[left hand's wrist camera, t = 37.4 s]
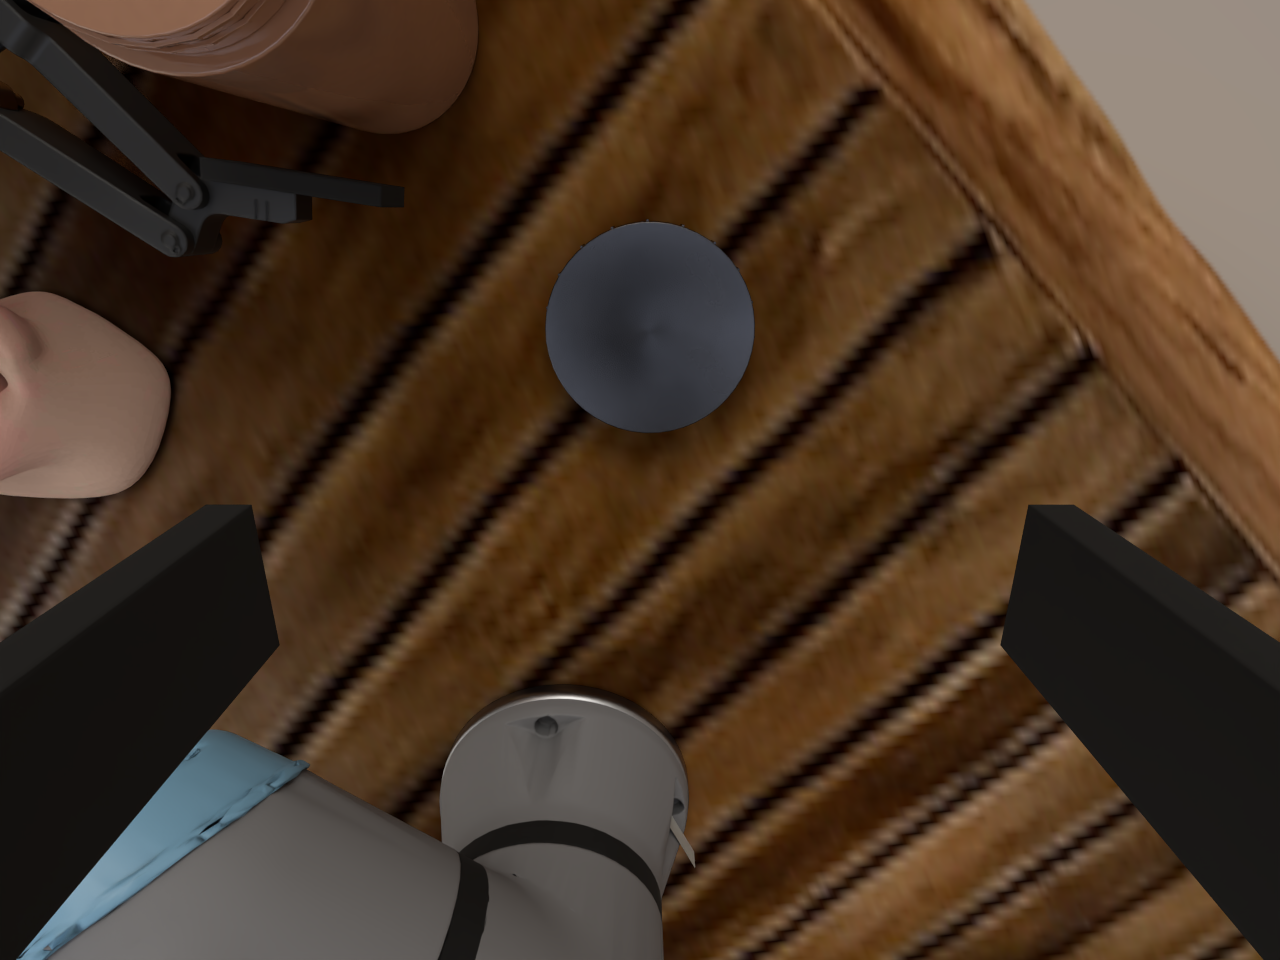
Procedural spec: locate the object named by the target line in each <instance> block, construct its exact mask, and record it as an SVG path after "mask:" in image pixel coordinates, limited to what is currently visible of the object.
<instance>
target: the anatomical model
mask: <svg viewBox="0 0 1280 960" xmlns="http://www.w3.org/2000/svg"><path fill="white" fill-rule="evenodd" d="M170 400H171V386H170V379H169V376H168V373H167V371H166V369H165V367H164V366H163V364H162V363H161V361H160V360H159V359H158V358H157V357H156V356H155V355H154V354H153V353H152V352H151V351H150V350H148V349H147V348H146V347H145V346H143V345H142V344H141V343H140V342H138V341H137V340H136V339H134V338H133V337H131V336H130V335H128V334H127V333H125V332H124V331H122V330H121V329H119V328H118V327H116V326H115V325H113V324H112V323H110V322H109V321H107V320H106V319H104V318H103V317H101V316H99V315H98V314H96V313H94V312H92V311H90V310H88V309H86V308H84V307H82V306H80V305H78V304H76V303H74V302H72V301H70V300H68V299H66V298H63V297H61V296H58V295H55V294H52V293H47V292H40V291H36V292H26V293H21V294H17V295H13V296H9V297H6V298H3V299H0V494H3V495H11V496H24V497H40V498H89V497H101V496H106V495H111V494H115V493H118V492H121V491H123V490H125V489H127V488H129V487H131V486H132V485H133V484H134V483H136V482H137V481H138V480H139V479H140V478H141V477H142V476H143V474H144V473H145V472H146V470H147V469H148V467H149V466H150V464H151V462H152V461H153V459H154V457H155V454H156V452H157V450H158V448H159V445H160V442H161V439H162V436H163V433H164V430H165V426H166V422H167V418H168V414H169V407H170Z"/></svg>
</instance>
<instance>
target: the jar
mask: <svg viewBox="0 0 1280 960" xmlns="http://www.w3.org/2000/svg"><path fill="white" fill-rule="evenodd" d="M27 1H29V2H30V3H32V4H33V5H35V6H36V7H38V8H39V9H41V10H42V11H44V12H45V13H47V14H48V15H50V16H51V17H53V18H54V19H56V20H57V21H59V22H60V23H62V24H63V25H64V26H65V27H66V28H68V29H69V30H70V31H72V32H73V33H74V34H76V35H77V36H78V37H80V38H81V39H82V40H84V41H85V42H87V43H88V44H90V45H92V46H93V47H95V48H97V49H98V50H100V51H102V52H103V53H105V54H107V55H108V56H111V57H113V58H115V59H117V60H120V61H122V62H124V63H126V64H129V65H131V66H134V67H137V68H140V69H144V70H147V71H150V72H154V73H157V74H161V75H164V76H168V77H171V78H175V79H179V80H182V81H186V82H190V83H193V84H197V85H200V86H204V87H208V88H211V89H215V90H219V91H222V92H226V93H229V94H233V95H237V96H240V97H244V98H247V99H251V100H255V101H258V102H262V103H266V104H269V105H273V106H276V107H280V108H284V109H287V110H291V111H294V112H298V113H302V114H305V115H309V116H313V117H316V118H320V119H323V120H327V121H331V122H334V123H338V124H342V125H345V126H349V127H352V128H356V129H360V130H363V131H367V132H373V133H379V134H396V133H404V132H408V131H412V130H415V129H418V128H421V127H423V126H425V125H427V124H429V123H431V122H432V121H434V120H435V119H437V118H438V117H440V116H441V115H442V114H443V113H444V112H445V111H446V110H448V109H449V108H450V106H451V105H452V104H453V103H454V102H455V101H456V99H457V98H458V97H459V95H460V93H461V92H462V90H463V89H464V87H465V85H466V83H467V81H468V78H469V76H470V74H471V71H472V68H473V64H474V61H475V56H476V51H477V44H478V16H477V9H476V3H475V0H27Z"/></svg>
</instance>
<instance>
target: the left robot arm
mask: <svg viewBox="0 0 1280 960" xmlns="http://www.w3.org/2000/svg"><path fill="white" fill-rule="evenodd" d="M278 646H279V640H278V635H277V630H276V625H275V620H274V615H273V610H272V605H271V600H270V595H269V590H268V585H267V580H266V575H265V570H264V565H263V560H262V555H261V550H260V545H259V540H258V535H257V530H256V525H255V520H254V515H253V510H252V505H205V506H204V507H202V508H201V509H199V510H198V511H196V512H195V513H193V514H192V515H190V516H189V517H187V518H186V519H184V520H183V521H181V522H180V523H178V524H177V525H175V526H174V527H172V528H171V529H169V530H168V531H166V532H165V533H163V534H162V535H160V536H159V537H157V538H156V539H154V540H153V541H151V542H150V543H148V544H147V545H145V546H144V547H142V548H141V549H139V550H138V551H136V552H135V553H133V554H132V555H130V556H129V557H127V558H126V559H124V560H123V561H121V562H120V563H118V564H117V565H115V566H114V567H112V568H111V569H109V570H108V571H106V572H105V573H103V574H102V575H101V576H99V577H98V578H96V579H95V580H93V581H92V582H90V583H89V584H87V585H86V586H84V587H83V588H81V589H80V590H78V591H77V592H75V593H74V594H72V595H71V596H69V597H68V598H66V599H65V600H63V601H62V602H60V603H59V604H57V605H56V606H54V607H53V608H51V609H50V610H48V611H47V612H45V613H44V614H42V615H41V616H39V617H38V618H36V619H35V620H33V621H32V622H30V623H29V624H27V625H26V626H24V627H23V628H21V629H20V630H18V631H17V632H15V633H14V634H12V635H11V636H9V637H8V638H6V639H5V640H3V641H2V642H0V960H664V959H663V933H662V905H661V899H662V895H663V892H664V889H665V886H666V883H667V880H668V877H669V874H670V871H671V868H672V866H673V863H674V860H675V857H676V854H677V851H678V848H679V845H680V844H681V846H682V848H683V849H684V851H685V852H686V854H687V856H688V857H689V859H690V861H691V862H692V864H693V865H694V867H695V860H694V851H693V849H692V847H691V846H690V844H689V843H688V841H687V839H686V838H685V836H684V834H683V833H684V830H685V826H686V820H687V812H688V802H689V795H688V780H687V771H686V766H685V762H684V759H683V756H682V754H681V751H680V749H679V747H678V745H677V743H676V742H675V740H674V738H673V737H672V736H671V734H670V733H669V732H668V730H667V729H666V728H665V727H664V726H663V725H662V724H661V722H659V721H658V720H657V719H656V718H655V717H654V716H653V715H652V714H650V713H649V712H648V711H646V710H645V709H644V708H642V707H640V706H639V705H637V704H635V703H634V702H632V701H630V700H628V699H626V698H624V697H622V696H619V695H616V694H614V693H611V692H608V691H605V690H601V689H597V688H592V687H588V686H580V685H566V684H557V685H544V686H537V687H532V688H527V689H523V690H520V691H517V692H514V693H511V694H509V695H506V696H504V697H502V698H500V699H498V700H496V701H494V702H492V703H491V704H489V705H488V706H486V707H485V708H483V709H482V710H481V711H479V712H478V713H477V714H476V715H474V716H473V717H472V719H471V720H470V721H469V722H468V723H467V724H466V725H465V726H464V728H463V729H462V730H461V731H460V733H459V735H458V736H457V738H456V740H455V742H454V744H453V746H452V748H451V751H450V754H449V757H448V760H447V762H446V765H445V769H444V772H443V777H442V783H441V790H440V815H441V830H442V842H440V841H438V840H436V839H435V838H433V837H431V836H429V835H427V834H425V833H423V832H421V831H419V830H418V829H416V828H414V827H412V826H410V825H408V824H406V823H404V822H403V821H401V820H399V819H397V818H395V817H393V816H391V815H389V814H388V813H386V812H384V811H382V810H380V809H378V808H376V807H374V806H373V805H371V804H369V803H367V802H365V801H363V800H361V799H359V798H358V797H356V796H354V795H352V794H350V793H348V792H346V791H344V790H343V789H341V788H339V787H337V786H335V785H333V784H332V783H330V782H328V781H326V780H324V779H323V778H321V777H319V776H317V775H315V774H314V773H312V772H310V771H308V770H306V769H307V768H308V767H309V766H310V764H309V763H307V762H305V761H303V760H297V761H292V760H290V759H288V758H285V757H283V756H281V755H279V754H277V753H275V752H273V751H270V750H268V749H266V748H264V747H262V746H260V745H258V744H256V743H253V742H251V741H249V740H247V739H245V738H243V737H241V736H239V735H236V734H234V733H231V732H228V731H222V730H209V729H210V728H211V726H212V725H213V724H214V723H215V722H216V720H217V719H218V718H219V717H220V716H221V715H222V713H223V712H224V711H225V710H226V709H227V707H228V706H229V705H230V704H231V703H232V701H233V700H234V699H235V698H236V697H237V695H238V694H239V693H240V692H241V691H242V689H243V688H244V687H245V686H246V685H247V683H248V682H249V681H250V680H251V679H252V677H253V676H254V675H255V674H256V673H257V671H258V670H259V669H260V668H261V667H262V665H263V664H264V663H265V662H266V661H267V660H268V658H269V657H270V656H271V655H272V654H273V652H274V651H275V650H276V649H277V648H278ZM1001 646H1002V648H1003V649H1004V650H1005V651H1006V652H1007V654H1008V655H1009V656H1010V657H1011V658H1012V660H1013V661H1014V662H1015V663H1016V664H1017V666H1018V667H1019V668H1020V669H1021V670H1022V671H1023V673H1024V674H1025V675H1026V676H1027V677H1028V679H1029V680H1030V681H1031V682H1032V683H1033V685H1034V686H1035V687H1036V688H1037V689H1038V691H1039V692H1040V693H1041V694H1042V695H1043V697H1044V698H1045V699H1046V700H1047V701H1048V703H1049V704H1050V705H1051V706H1052V707H1053V709H1054V710H1055V711H1056V712H1057V713H1058V715H1059V716H1060V717H1061V718H1062V719H1063V720H1064V722H1065V723H1066V724H1067V725H1068V726H1069V728H1070V729H1071V730H1072V731H1073V732H1074V734H1075V735H1076V736H1077V737H1078V738H1079V740H1080V741H1081V742H1082V743H1083V744H1084V746H1085V747H1086V748H1087V749H1088V750H1089V752H1090V753H1091V754H1092V755H1093V756H1094V758H1095V759H1096V760H1097V761H1098V762H1099V764H1100V765H1101V766H1102V767H1103V768H1104V769H1105V771H1106V772H1107V773H1108V774H1109V775H1110V777H1111V778H1112V779H1113V780H1114V781H1115V783H1116V784H1117V785H1118V786H1119V787H1120V789H1121V790H1122V791H1123V792H1124V793H1125V795H1126V796H1127V797H1128V798H1129V799H1130V801H1131V802H1132V803H1133V804H1134V805H1135V807H1136V808H1137V809H1138V810H1139V811H1140V813H1141V814H1142V815H1143V816H1144V817H1145V818H1146V820H1147V821H1148V822H1149V823H1150V824H1151V826H1152V827H1153V828H1154V829H1155V830H1156V832H1157V833H1158V834H1159V835H1160V836H1161V838H1162V839H1163V840H1164V841H1165V842H1166V844H1167V845H1168V846H1169V847H1170V848H1171V850H1172V851H1173V852H1174V853H1175V854H1176V856H1177V857H1178V858H1179V859H1180V860H1181V862H1182V863H1183V864H1184V865H1185V866H1186V867H1187V869H1188V870H1189V871H1190V872H1191V873H1192V875H1193V876H1194V877H1195V878H1196V879H1197V881H1198V882H1199V883H1200V884H1201V885H1202V887H1203V888H1204V889H1205V890H1206V891H1207V893H1208V894H1209V895H1210V896H1211V897H1212V899H1213V900H1214V901H1215V902H1216V903H1217V905H1218V906H1219V907H1220V908H1221V909H1222V911H1223V912H1224V913H1225V914H1226V915H1227V916H1228V918H1229V919H1230V920H1231V921H1232V922H1233V924H1234V925H1235V926H1236V927H1237V928H1238V930H1239V931H1240V932H1241V933H1242V934H1243V936H1244V937H1245V938H1246V939H1247V940H1248V942H1249V943H1250V944H1251V945H1252V946H1253V948H1254V949H1255V950H1256V951H1257V952H1258V954H1259V955H1260V956H1261V957H1262V958H1263V960H1280V642H1278V641H1277V640H1275V639H1274V638H1272V637H1271V636H1269V635H1268V634H1266V633H1265V632H1263V631H1262V630H1260V629H1259V628H1257V627H1256V626H1254V625H1253V624H1251V623H1250V622H1248V621H1247V620H1245V619H1244V618H1242V617H1241V616H1239V615H1238V614H1236V613H1235V612H1233V611H1232V610H1230V609H1229V608H1227V607H1226V606H1224V605H1223V604H1221V603H1220V602H1218V601H1217V600H1215V599H1214V598H1212V597H1211V596H1209V595H1208V594H1206V593H1205V592H1203V591H1202V590H1200V589H1199V588H1197V587H1196V586H1194V585H1193V584H1191V583H1190V582H1188V581H1187V580H1185V579H1184V578H1182V577H1181V576H1179V575H1178V574H1177V573H1175V572H1174V571H1172V570H1171V569H1169V568H1168V567H1166V566H1165V565H1163V564H1162V563H1160V562H1159V561H1157V560H1156V559H1154V558H1153V557H1151V556H1150V555H1148V554H1147V553H1145V552H1144V551H1142V550H1141V549H1139V548H1138V547H1136V546H1135V545H1133V544H1132V543H1130V542H1129V541H1127V540H1126V539H1124V538H1123V537H1121V536H1120V535H1118V534H1117V533H1115V532H1114V531H1112V530H1111V529H1109V528H1108V527H1106V526H1105V525H1103V524H1102V523H1100V522H1099V521H1097V520H1096V519H1094V518H1093V517H1091V516H1090V515H1088V514H1087V513H1085V512H1084V511H1082V510H1081V509H1079V508H1078V507H1076V506H1075V505H1028V510H1027V515H1026V520H1025V525H1024V530H1023V535H1022V540H1021V545H1020V550H1019V555H1018V560H1017V565H1016V570H1015V575H1014V580H1013V585H1012V590H1011V595H1010V600H1009V605H1008V610H1007V615H1006V620H1005V625H1004V630H1003V635H1002V640H1001Z"/></svg>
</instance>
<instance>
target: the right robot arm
mask: <svg viewBox="0 0 1280 960" xmlns="http://www.w3.org/2000/svg"><path fill="white" fill-rule="evenodd" d="M6 48H7V49H8V50H10V51H11V52H13V53H14V54H16V55H17V56H19V57H21V58H23V59H25V60H26V61H28V62H29V63H30V64H32V65H33V66H34V67H35V68H36V69H37V70H38V71H39V72H40V73H41V74H42V75H43V76H44V77H45V78H46V79H47V80H48V81H49V82H50V83H51V84H52V85H53V86H54V87H55V88H57V89H58V90H59V91H60V92H61V93H62V94H63V95H64V96H65V97H66V98H67V99H68V100H69V101H70V102H71V103H72V104H73V105H74V106H75V107H76V108H77V109H78V110H79V111H80V112H81V113H82V114H83V115H84V116H85V117H86V118H87V119H88V120H89V121H91V122H92V123H93V124H94V125H95V126H96V127H97V128H98V129H99V130H100V131H101V132H102V133H103V134H104V135H105V136H106V137H107V138H108V139H109V140H110V141H111V142H112V143H113V144H114V145H115V146H116V147H117V148H118V149H119V150H120V151H121V152H122V153H123V154H125V155H126V156H127V157H128V158H129V159H130V160H131V161H132V162H133V163H134V164H135V165H136V166H137V167H138V168H139V169H140V170H141V171H142V172H143V173H144V174H145V175H146V176H147V177H148V178H149V179H150V180H151V181H152V182H153V183H154V184H155V185H156V186H157V187H159V188H160V189H161V190H162V191H163V192H164V193H165V194H164V193H163V192H161V191H159V190H158V189H156V188H155V187H153V186H152V185H150V184H149V183H147V182H146V181H144V180H142V179H141V178H139V177H138V176H136V175H135V174H133V173H132V172H130V171H129V170H127V169H125V168H124V167H122V166H121V165H119V164H118V163H116V162H115V161H113V160H112V159H110V158H109V157H107V156H105V155H104V154H102V153H101V152H99V151H98V150H96V149H95V148H93V147H92V146H90V145H88V144H87V143H85V142H84V141H82V140H81V139H79V138H78V137H76V136H75V135H73V134H71V133H70V132H68V131H67V130H65V129H64V128H62V127H61V126H59V125H57V124H56V123H54V122H52V121H51V120H49V119H47V118H45V117H43V116H41V115H38V114H36V113H34V112H31V111H28V110H25V109H23V107H24V100H23V98H22V97H21V96H20V95H19V94H17V93H14V92H13V90H12V89H11V88H10V87H9V86H8V85H7V84H5V83H3V82H1V81H0V151H2V152H3V153H5V154H7V155H8V156H10V157H11V158H13V159H15V160H16V161H18V162H19V163H21V164H23V165H24V166H26V167H27V168H29V169H30V170H32V171H34V172H35V173H37V174H38V175H40V176H42V177H43V178H45V179H46V180H48V181H49V182H51V183H53V184H54V185H56V186H57V187H59V188H61V189H62V190H64V191H65V192H67V193H68V194H70V195H72V196H73V197H75V198H76V199H78V200H80V201H81V202H83V203H84V204H86V205H88V206H89V207H91V208H92V209H94V210H95V211H97V212H99V213H100V214H102V215H103V216H105V217H107V218H108V219H110V220H111V221H113V222H114V223H116V224H118V225H119V226H121V227H122V228H124V229H126V230H127V231H129V232H130V233H132V234H133V235H135V236H137V237H138V238H140V239H141V240H143V241H145V242H146V243H148V244H149V245H151V246H152V247H154V248H156V249H157V250H159V251H160V252H162V253H164V254H165V255H168V256H170V257H183V256H192V255H202V254H212V253H215V252H217V251H218V250H219V249H220V248H221V245H222V237H221V234H220V232H219V231H220V228H221V225H222V223H223V221H224V219H225V218H226V217H228V216H229V215H231V216H238V217H244V218H251V219H258V220H264V221H270V222H277V223H301V222H304V221H308V220H312V197H319V198H325V199H332V200H338V201H344V202H351V203H357V204H364V205H370V206H377V207H404V187H399V186H393V185H386V184H380V183H374V182H367V181H361V180H354V179H348V178H342V177H335V176H329V175H323V174H316V173H310V172H304V171H297V170H291V169H284V168H278V167H272V166H265V165H259V164H253V163H246V162H240V161H232V160H223V159H214V158H206V157H204V156H203V155H202V154H201V153H200V152H199V151H198V150H197V149H196V148H195V147H194V146H193V145H192V144H191V143H190V142H189V141H188V140H187V139H186V138H185V137H184V136H183V135H182V134H181V133H180V132H179V131H178V130H177V129H176V128H175V127H174V126H173V125H172V124H171V123H170V122H169V121H168V120H167V119H166V118H165V117H164V116H163V115H162V114H161V113H160V112H159V111H158V110H157V109H156V108H155V107H154V106H153V105H152V104H151V103H150V102H149V101H148V100H147V99H146V98H145V97H144V96H143V95H142V94H141V93H140V92H139V91H138V90H137V89H136V88H135V87H134V86H133V85H132V84H131V83H130V82H129V81H128V80H127V79H126V78H125V77H124V76H123V75H122V74H121V73H120V72H119V71H118V70H117V69H116V68H115V67H114V66H113V65H112V64H111V63H110V62H109V61H108V60H107V59H106V58H105V57H104V56H103V55H102V53H101V52H100V51H99V50H98V49H97V48H95V47H93V46H92V45H90V44H88V43H87V42H85V41H84V40H82V39H81V38H80V37H78V36H77V35H76V34H74V33H73V32H72V31H70V30H69V29H68V28H66V27H65V26H64V25H63V24H62V23H60V22H59V21H57V20H56V19H54V18H53V17H51V16H50V15H48V14H47V13H45V12H44V11H42V10H41V9H39V8H38V7H36V6H35V5H33V4H32V3H30V2H29V1H27V0H0V53H1V52H2V51H3V50H5V49H6Z"/></svg>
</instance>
